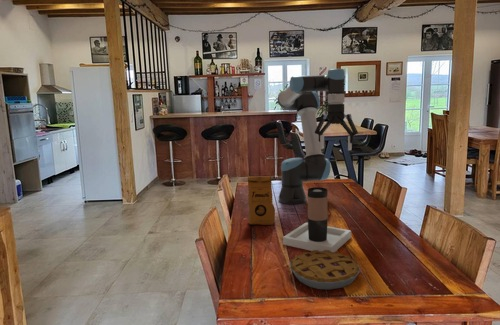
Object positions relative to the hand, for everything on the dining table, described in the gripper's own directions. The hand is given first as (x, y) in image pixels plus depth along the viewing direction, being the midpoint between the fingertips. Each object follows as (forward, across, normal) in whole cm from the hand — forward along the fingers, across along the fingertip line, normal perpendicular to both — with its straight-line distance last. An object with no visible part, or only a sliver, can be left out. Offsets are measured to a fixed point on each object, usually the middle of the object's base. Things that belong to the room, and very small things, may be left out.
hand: (335, 149), depth 175 cm
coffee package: (+32, -24, -28) cm, 49 cm away
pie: (+32, +21, -60) cm, 71 cm away
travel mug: (+31, +7, -35) cm, 47 cm away
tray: (+32, +7, -35) cm, 48 cm away
